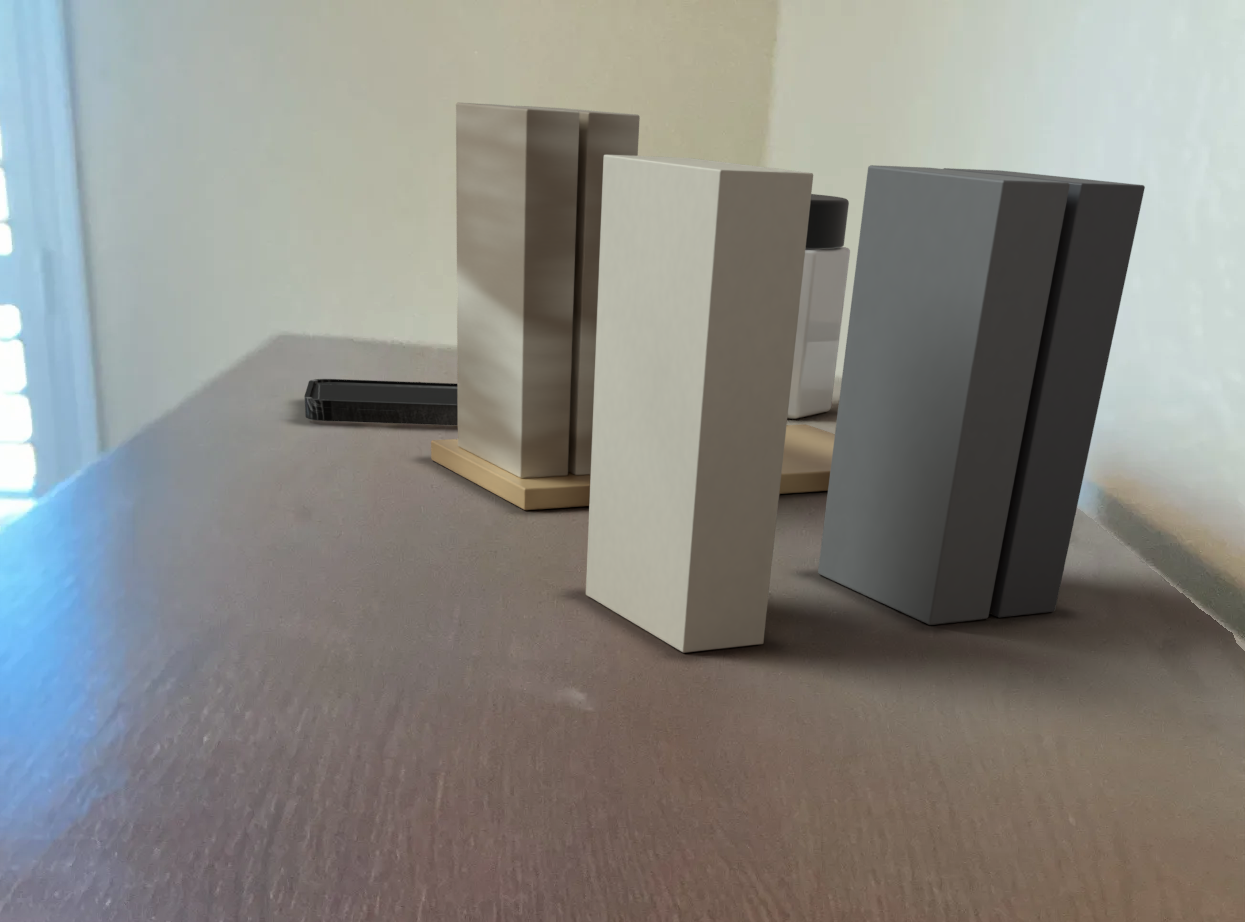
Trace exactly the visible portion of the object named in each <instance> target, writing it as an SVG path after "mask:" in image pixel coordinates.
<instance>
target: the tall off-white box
mask: <svg viewBox="0 0 1245 922" xmlns="http://www.w3.org/2000/svg"><path fill="white" fill-rule="evenodd" d="M813 181H814V173H813V172H810V171H809V172H808V171H800V170H792V169H783V168H776V167H767V166H759V165H750V164H742V163H733V162H727V161H719V160H718V161H717V160H709V159H702V158H701V159H700V158H693V157H677V156H653V155H651V156H650V155H638V156H629V155H604V160H603V184H602V209H601V233H600V258H599V283H598V307H597V332H596V356H595V381H594V405H593V430H592V454H591V479H590V504H589V506H588V529H587V530H588V531H587V553H586V554H587V555H586V576H585V577H586V579H585V595H586V596H587V597H589V598H591V599H592V600H593V601H596V602H597V603H599V604H600V605H602V606H604V607H606V608H607V609H608V610H611V611H612V612H613V613H616V614H617V615H618V616H621V617H622V618H624V619H626V620H627V621H629V622H631V623H632V624H634V625H636V626H638V627H639V628H641V629H643V630H644V631H646V632H648V633H649V634H651V635H652V636H654V637H656V638H658V639H660V640H661V641H662V642H664V643H666V644H668V645H670V646H671V647H673V648H675V649H676V650H678V651H679V652H681V653H683V654H685V653H693V652H694V653H695V652H703V651H712V650H713V651H714V650H721V649H722V650H723V649H730V648H738V647H739V648H740V647H749V646H757V645H763V644H764V641H765V630H766V629H765V628H766V622H767V621H766V620H767V613H768V602H769V601H768V600H769V594H770V585H771V574H772V564H773V556H774V555H773V554H774V546H775V537H776V529H777V528H776V527H777V519H778V509H779V499H780V494H779V491H780V482H781V472H782V463H783V454H784V444H785V435H786V426H787V425H788V424H787V423H788V418H787V416H788V407H789V398H790V388H791V379H792V370H793V360H794V351H795V342H796V332H797V323H798V314H799V304H800V295H801V286H802V276H803V267H804V258H805V248H806V239H807V229H808V220H809V211H810V201H811V194H812V193H813V192H812V190H813V183H814V182H813Z"/></svg>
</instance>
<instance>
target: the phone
mask: <svg viewBox="0 0 1245 922" xmlns="http://www.w3.org/2000/svg"><path fill="white" fill-rule="evenodd" d="M303 398H304V414H305V415H304V416H305V418H306V419H308V420H312V421H319V422H342V423H367V424H368V423H369V424H370V423H371V424H395V425H396V424H397V425H400V424H401V425H427V426H457V427H458V391H457V383H452V382H451V383H450V382H426V381H425V382H424V381H423V382H422V381H397V380H396V381H395V380H369V379H368V380H367V379H344V378H343V379H341V378H315V379H310V380H309V381H308V382H307V386H306V390H305V392H304V396H303Z"/></svg>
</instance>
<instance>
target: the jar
mask: <svg viewBox="0 0 1245 922" xmlns="http://www.w3.org/2000/svg"><path fill="white" fill-rule="evenodd" d="M849 206H850V201H849V200H848V199H847V198H845V197H840V196H835V195H825V194H817V193H811V201H810V211H809V220H808V229H807V239H806V248H805V258H804V267H803V276H802V286H801V295H800V304H799V314H798V323H797V332H796V342H795V351H794V360H793V370H792V379H791V388H790V398H789V407H788V416H787V419H794V420H796V419H801V418H804V417H809V416H814V415H817V414H822V413H827V412H829V411H830V410H831V408H832V405H833V397H834V388H835V387H834V386H835V379H836V371H837V362H838V356H839V355H838V354H839V347H840V339H841V330H842V322H843V313H844V306H845V296H846V289H847V279H848V273H849V272H848V271H849V263H850V256H851V250H850V248H849V247H846V246H845V239H846V232H847V224H848V223H847V221H848V214H849Z"/></svg>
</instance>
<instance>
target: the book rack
mask: <svg viewBox="0 0 1245 922" xmlns="http://www.w3.org/2000/svg"><path fill="white" fill-rule="evenodd" d="M640 118H641V117H640V114H635V113H625V112H614V111H613V112H611V111H601V110H589V109H576V108H567V107H566V108H564V107H552V106H551V107H549V106H532V105H531V106H529V105H510V104H509V105H508V104H496V103H495V104H492V103H474V102H473V103H472V102H456V104H455V151H456V152H455V161H456V162H455V167H456V168H455V172H456V173H455V181H456V183H455V187H456V191H455V192H456V194H455V196H456V198H455V199H456V204H455V205H456V341H457V342H456V355H457V356H456V363H457V364H456V365H457V366H456V367H457V371H456V372H457V376H456V379H457V383H456V384H457V391H458V426H457V438H452V439H451V438H449V439H432V440H431V441H430V458H431V460H432V461H433V462H435V463H437V464H438V465H441V466H443V467H444V468H446V469H448V470H450V471H452V472H454V473H455V474H457V475H459V476H461V477H462V478H464V479H467V480H468V481H470V482H472V483H474V484H475V485H478V486H479V487H481V488H483V489H484V490H486V491H489V492H490V493H493V494H494V495H496V496H498V497H500V498H501V499H503V500H506V501H507V502H509V503H511V504H513V505H514V506H517V507H518V508H520V509H522V510H524V511H536V510H551V509H565V508H567V509H568V508H583V507H589V504H590V479H591V454H592V430H593V405H594V381H595V356H596V332H597V307H598V283H599V258H600V233H601V209H602V184H603V160H604V155H629V156H639V155H638V154H639V138H640V137H639V136H640V120H641V119H640ZM834 438H835V433H832V432H830V431H827V430H823V429H820V428H818V427H815V426H812V425H810V424H805V423H804V424H803V423H802V424H787V426H786V435H785V444H784V454H783V463H782V472H781V482H780V491H779V495H787V494H801V493H816V492H828V487H829V479H830V471H831V463H832V455H833V446H834Z"/></svg>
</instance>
